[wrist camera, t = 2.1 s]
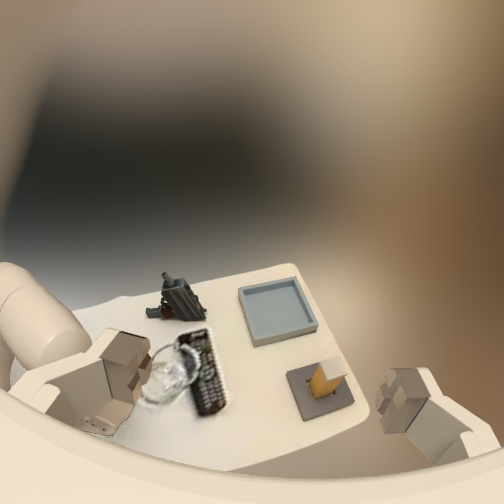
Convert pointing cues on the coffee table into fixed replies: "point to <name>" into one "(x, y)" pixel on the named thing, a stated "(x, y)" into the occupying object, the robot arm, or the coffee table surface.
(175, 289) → the gun
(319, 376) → the block
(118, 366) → the robot arm
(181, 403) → the coffee table surface
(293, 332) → the parts tray
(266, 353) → the coffee table surface
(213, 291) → the coffee table surface
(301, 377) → the block
